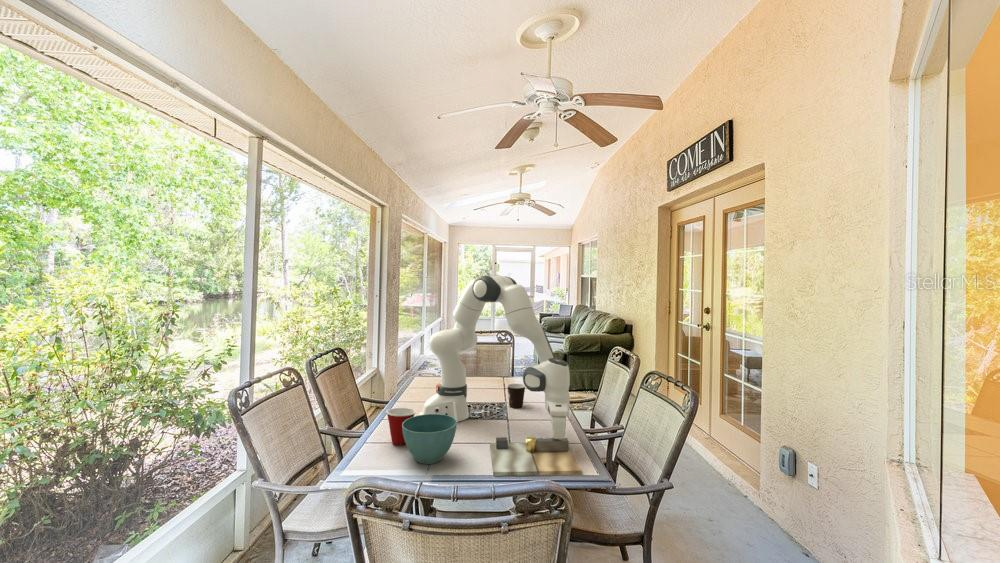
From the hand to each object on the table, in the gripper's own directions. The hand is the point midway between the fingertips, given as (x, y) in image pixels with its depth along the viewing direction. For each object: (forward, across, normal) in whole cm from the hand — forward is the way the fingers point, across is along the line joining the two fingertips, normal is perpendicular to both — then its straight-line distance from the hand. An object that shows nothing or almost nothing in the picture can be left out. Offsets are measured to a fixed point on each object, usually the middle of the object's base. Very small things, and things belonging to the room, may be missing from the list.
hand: (556, 442), depth 146 cm
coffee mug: (+2, -48, -16) cm, 51 cm away
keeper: (+1, +4, -20) cm, 20 cm away
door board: (+2, +10, -9) cm, 14 cm away
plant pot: (+2, +13, -44) cm, 46 cm away
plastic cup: (+2, +1, -58) cm, 58 cm away
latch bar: (+1, +6, -4) cm, 7 cm away
